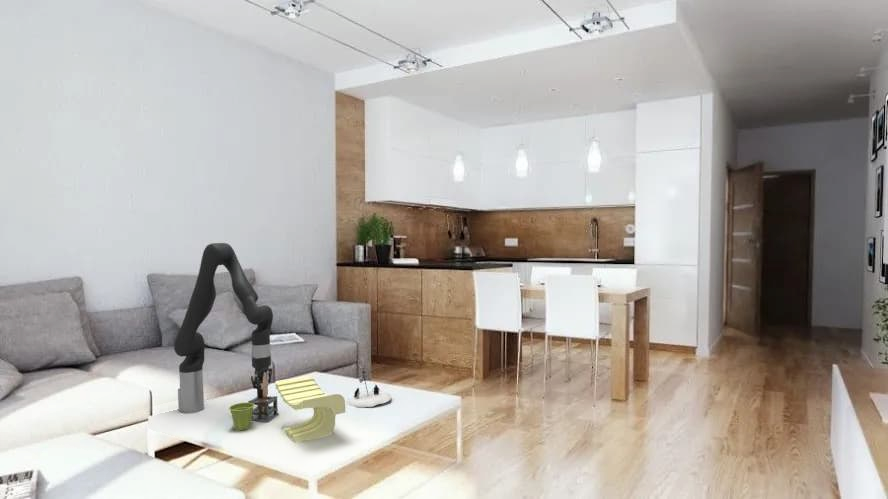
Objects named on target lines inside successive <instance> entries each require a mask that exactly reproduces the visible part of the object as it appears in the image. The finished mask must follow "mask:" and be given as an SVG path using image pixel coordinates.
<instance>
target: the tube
mask: <svg viewBox="0 0 888 499" xmlns="http://www.w3.org/2000/svg"><path fill="white" fill-rule="evenodd" d="M259 381H262V380H259ZM267 396H268V395H267V375H266V373H265V379H264V383H263V398H258V400H259V402H266V401H268V400H267ZM259 412H265V407H264V405H259Z"/></svg>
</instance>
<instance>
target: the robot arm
mask: <svg viewBox="0 0 888 499" xmlns="http://www.w3.org/2000/svg"><path fill="white" fill-rule="evenodd" d="M200 261H201V262H200V265H199V266H200V267H199V270H198V271H199V272H198V275H197V277H196V281H195V284H194V288H193V291H192V293H191V296H190V299H189V303H188V307H187V310H186V313H185V315H184V319H183V321H182V324H181V326H180V328H179V329H178V332H177V334H176V337H175V339H174V342H173V350H174V352H175V354H176V355H177V357H182V358H183V357H184V359H183V361H182V362H181V363H180V364H179V366H178V369H179V370H178V371H179V387H178V388H177V403H178V412H182V413H185V414H187V413H196V412H197V413H198V412H200V411H203V410H204V408H205V400H204V398H205V397H204V396H205V395H204V374H203V373H204V372H203V366H204V363H205V350H206V349H205V339H204V337H203V335H202V334H201V333H200V332H199V331H198V329H199V327H200V326H201V324H202V323H203V322H204V321H205V320H206V318H207V317H208V316H209V315H210V313H211V311H212V309H213V306H214V303H215V301H216V297H217V289H216V285H215V281H214V280H215V274H216V271H217V269H218V266H223V267H225V269H226V270H227V271H228V273H229V275H230V280H231V287H232V290H233V292H234V294H235V295H236V297H237V299H238V300H239V302H240V303H241V305H242V309H243V312H244V315H245V318H246V320H247V321H248V322H249V323H250V324H252V325H255V326H256V325H257V326H256V328H255V329H254V330H253V331H252V332H251V367H252V368H253V369H254V375H251V376H250V381H251V384H252V388H253V390H254V389H255V390H256V395H257V396H256V397H257V398H263V383H264V379H265V373H266V375H267V396H269V395H268V394H269V393H268V392H269V388H268V386H269V385H270V384H271V382H272V376H273V368H270V367H271V366H272V348H271V334H270V333H271V329H272V325H273V320H274V312H273V310H272V308H271V307H270V306H269V305H267V304H266V305H265V304H264V305H260V306H257V304H256V303H257V301H258V300H259V295H258V293H257V291H256V290H255V289H254V287H253V286H252V284H251V283H250V281H249V279H248V278H247V276H246V275H245V272H244V270H243V267H242V265H241V263H240V262H239V258H238V257H237V255H236V252H235V250H234V249H233V247H232V245H230V244H229V243H226V242H213V243H210V244H207V245H206V246H205V248H204V249H203V253H202V257H201V260H200ZM259 380H262V381H259Z"/></svg>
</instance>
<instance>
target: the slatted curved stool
mask: <svg viewBox="0 0 888 499" xmlns="http://www.w3.org/2000/svg"><path fill="white" fill-rule="evenodd" d="M275 389H276V390H277V393H278V394H280V397H281V398H282V401H283V402H284V403H285V404H287V405H288V406H289V407H291V408H292V409H293V410H295V411H297V410H303V409H310V408H312V409H313V416H312V417H311V418H310V419H309V420H306V421H304V422H302V423H299V424H296V425H292V426H288V427H284V430H283V433H284V434H285V435H286V436H288V437H289V438H290V439H291V440H292V441H294V443H301V441H302V442H305V441H309V440H313V439H317V438H322V437H326V436H330V435H331V434H332V433H333V432H334V430H335V427H336V416H337V415H340V414H341V415H342V414H345V413H346V399H345V398H344V396H343V395H342V394H340V393H335V394H329V395H328V394H326V393H325V392H324V391H322V389H321V387H320V386H319V385H318V382H316V380H315V379H314V378H312V376H310V375H304V376H299V377H292V378H287V379H282V380H281V379H280V380H276V381H275Z"/></svg>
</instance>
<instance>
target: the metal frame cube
mask: <svg viewBox="0 0 888 499" xmlns="http://www.w3.org/2000/svg"><path fill="white" fill-rule="evenodd" d="M247 403H253V404H254V406H256V407H253V411H252V420H251V421H255V423H267V424H268V423H270V422H271V421H272V420H274V419H275V418H277V417H278V416H279V412H278V396H275V395H274V396H269V395H267V401H266V402H259V400H258V398H257V396H256V397H254V398H253V399H251V400H249V401H247ZM270 404H273V405H270ZM259 405H264V407H265V412H259Z"/></svg>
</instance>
